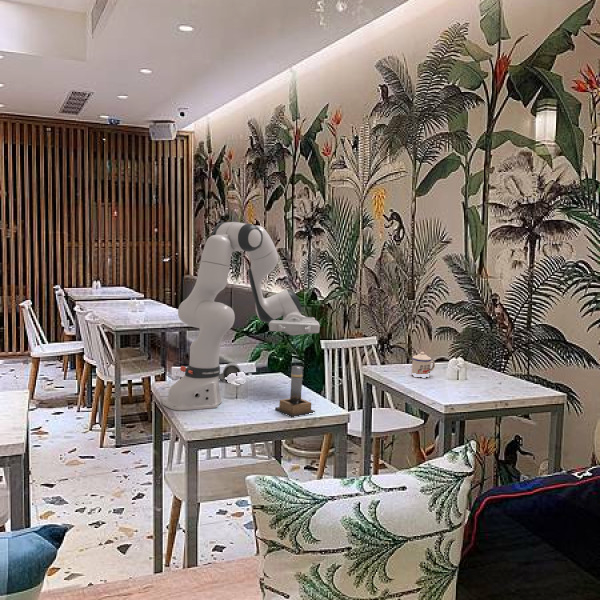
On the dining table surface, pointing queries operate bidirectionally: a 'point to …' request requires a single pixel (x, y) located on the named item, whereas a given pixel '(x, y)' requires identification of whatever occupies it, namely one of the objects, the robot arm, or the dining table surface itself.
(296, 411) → the stove collar
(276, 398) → the dining table surface
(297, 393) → the air tube
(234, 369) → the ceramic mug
